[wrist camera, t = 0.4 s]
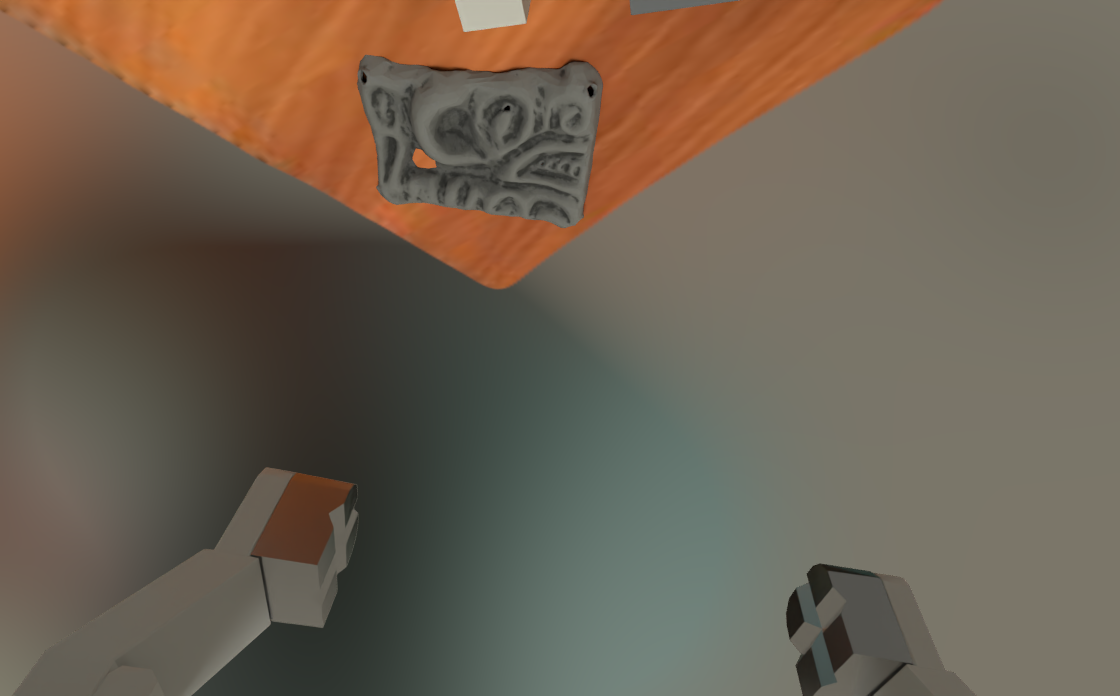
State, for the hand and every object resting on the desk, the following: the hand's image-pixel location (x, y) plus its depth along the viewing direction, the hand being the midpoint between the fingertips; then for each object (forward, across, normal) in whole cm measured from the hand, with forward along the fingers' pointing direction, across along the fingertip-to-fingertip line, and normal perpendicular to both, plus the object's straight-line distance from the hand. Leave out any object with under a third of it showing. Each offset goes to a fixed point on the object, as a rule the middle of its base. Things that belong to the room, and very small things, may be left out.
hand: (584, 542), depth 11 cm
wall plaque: (+58, +10, +14) cm, 60 cm away
